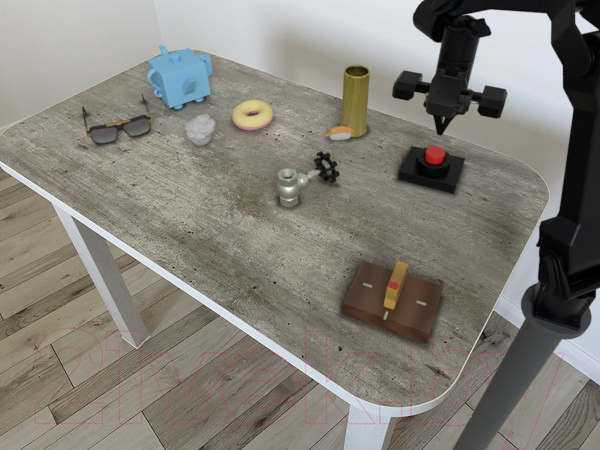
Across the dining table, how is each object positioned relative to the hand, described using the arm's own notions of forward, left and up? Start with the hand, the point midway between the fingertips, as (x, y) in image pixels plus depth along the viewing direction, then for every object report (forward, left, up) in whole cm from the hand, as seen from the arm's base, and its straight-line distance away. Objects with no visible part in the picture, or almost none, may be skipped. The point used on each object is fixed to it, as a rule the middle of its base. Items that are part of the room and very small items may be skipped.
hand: (439, 134), depth 90 cm
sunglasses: (+70, +10, -10) cm, 71 cm away
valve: (+21, +15, -10) cm, 28 cm away
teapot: (+63, -6, -10) cm, 64 cm away
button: (0, 0, -6) cm, 6 cm away
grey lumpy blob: (+48, +9, -10) cm, 50 cm away
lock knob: (-2, +34, -6) cm, 35 cm away
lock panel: (-2, +34, -10) cm, 35 cm away
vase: (+20, -8, -10) cm, 23 cm away
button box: (0, 0, -10) cm, 10 cm away
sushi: (+21, -4, -10) cm, 24 cm away
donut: (+42, -3, -10) cm, 43 cm away
